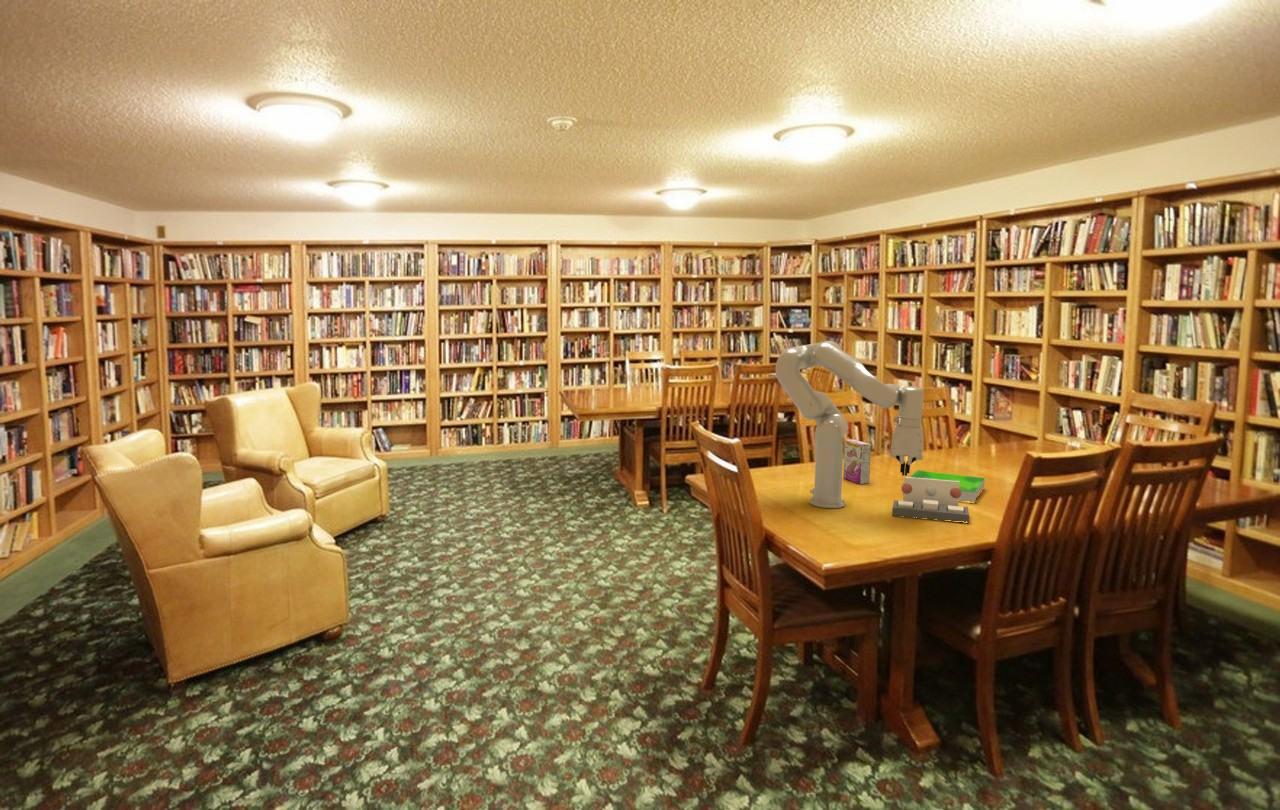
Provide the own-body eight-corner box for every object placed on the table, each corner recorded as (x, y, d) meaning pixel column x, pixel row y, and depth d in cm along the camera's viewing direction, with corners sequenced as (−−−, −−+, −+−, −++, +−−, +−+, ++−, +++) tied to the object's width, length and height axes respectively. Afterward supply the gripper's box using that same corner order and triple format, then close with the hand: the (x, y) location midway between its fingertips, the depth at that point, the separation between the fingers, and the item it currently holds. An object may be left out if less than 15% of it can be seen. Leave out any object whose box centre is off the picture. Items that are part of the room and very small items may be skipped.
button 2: (947, 517, 246) (948, 509, 246) (947, 513, 250) (947, 505, 250) (963, 519, 244) (963, 510, 244) (962, 515, 249) (963, 506, 248)
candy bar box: (842, 478, 303) (843, 439, 300) (852, 477, 304) (853, 438, 302) (859, 484, 292) (861, 444, 290) (869, 483, 294) (871, 443, 292)
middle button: (922, 511, 249) (922, 503, 248) (922, 507, 253) (923, 499, 253) (937, 513, 247) (938, 504, 246) (937, 509, 251) (938, 500, 251)
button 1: (897, 512, 252) (897, 504, 251) (898, 509, 256) (898, 500, 256) (912, 514, 250) (912, 505, 250) (912, 510, 254) (913, 502, 254)
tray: (983, 490, 285) (984, 478, 285) (973, 505, 265) (974, 492, 264) (917, 482, 299) (917, 470, 298) (902, 495, 278) (903, 483, 277)
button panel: (892, 516, 250) (893, 484, 249) (894, 505, 262) (895, 476, 261) (968, 523, 241) (970, 491, 240) (966, 512, 254) (968, 482, 252)
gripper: (885, 422, 248) (881, 474, 251) (932, 426, 243) (927, 480, 246) (887, 419, 255) (882, 470, 258) (932, 423, 249) (927, 475, 252)
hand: (904, 474), depth 252 cm, fingers closed
